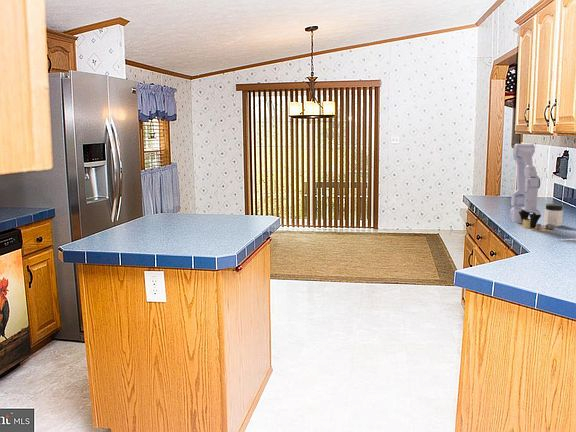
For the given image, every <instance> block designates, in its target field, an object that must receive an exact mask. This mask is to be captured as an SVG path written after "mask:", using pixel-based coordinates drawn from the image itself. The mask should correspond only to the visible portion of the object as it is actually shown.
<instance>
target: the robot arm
mask: <svg viewBox="0 0 576 432" xmlns="http://www.w3.org/2000/svg"><path fill="white" fill-rule="evenodd" d="M535 151H536V147H535V144H533V143H515V144H514V145H513V148H512V152H513V153H512V156H513V160H514V161H516V190H515V191H514V192H512V194H511V198H510V205H511V206H512V208H510V211H509V219H508V221H510V222H511V223H512V222H513V223H515V224H517V223H518V224H522V222H523V219H530V220H531V228H535V227H536V225H537V224H538V221H539V220H540V218H541V217H542V214H541V210H539V209H537V204H538V195H539V194H538V193H539V189H540V188H541V178H540V177H539V176H538V175H537V174H538V173H537V168H536V166H534V165H533V156H534V154H535Z"/></svg>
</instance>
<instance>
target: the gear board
mask: <svg viewBox="0 0 576 432" xmlns="http://www.w3.org/2000/svg"><path fill="white" fill-rule="evenodd" d="M519 227H520V228H521V227H522V225H521V224H520V225H519ZM545 227H546V225H542V224H541V223H537V224H536V227H535V228H525V227H522V228H524V229H527V230H530V231H534V232H559V230H557V229H555V230H545Z"/></svg>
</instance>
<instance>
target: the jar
mask: <svg viewBox="0 0 576 432" xmlns="http://www.w3.org/2000/svg"><path fill="white" fill-rule="evenodd" d="M563 207H564V206H563V204H558V203H546V204H545V208H544V215H543V223H542V224H543V226H546V225H547V224H549V223H551V224H553V225H555V227H561V226H563V225H562V224H563V217H564V210H563Z"/></svg>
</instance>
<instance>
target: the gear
mask: <svg viewBox="0 0 576 432" xmlns="http://www.w3.org/2000/svg"><path fill="white" fill-rule="evenodd" d="M545 230H556V226H555V225H553V224H551V223H549V224H547V225H545Z"/></svg>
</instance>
